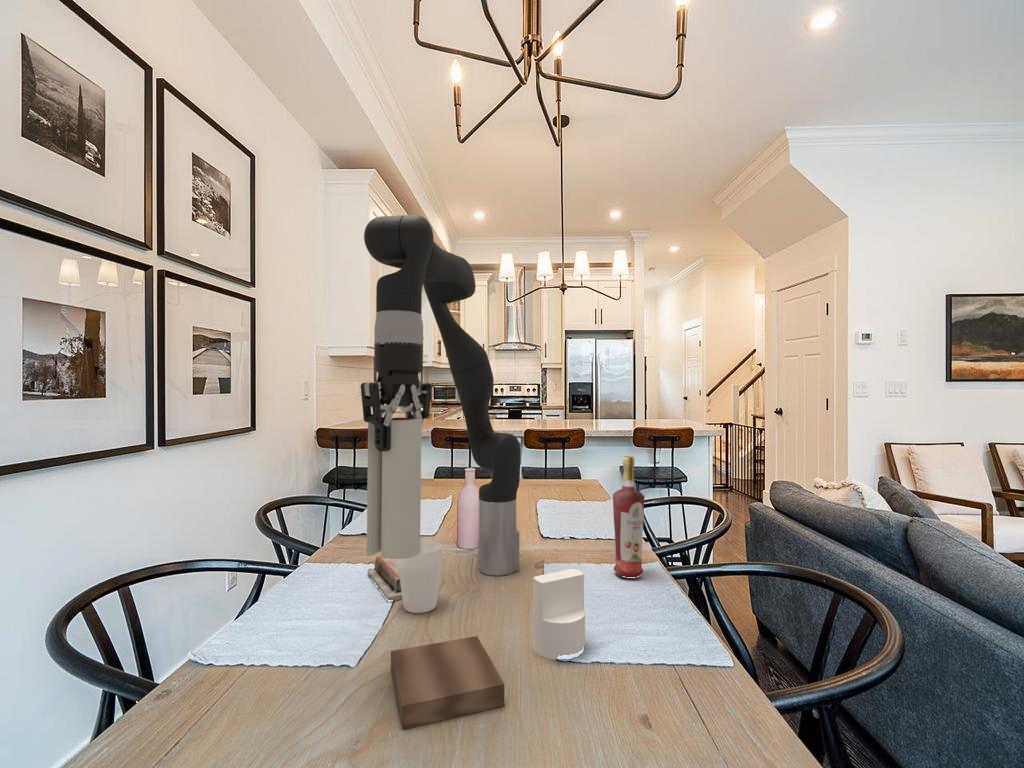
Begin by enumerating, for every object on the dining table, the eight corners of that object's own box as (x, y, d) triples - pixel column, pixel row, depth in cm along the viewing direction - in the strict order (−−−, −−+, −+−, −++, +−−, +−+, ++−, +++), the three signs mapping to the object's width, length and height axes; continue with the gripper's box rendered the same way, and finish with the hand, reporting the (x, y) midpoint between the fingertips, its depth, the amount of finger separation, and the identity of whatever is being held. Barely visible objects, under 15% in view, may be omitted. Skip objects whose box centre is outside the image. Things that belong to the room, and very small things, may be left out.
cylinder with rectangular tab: (550, 665, 78) (550, 590, 78) (523, 639, 86) (523, 571, 86) (595, 651, 82) (596, 580, 82) (565, 628, 90) (566, 563, 90)
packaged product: (366, 555, 116) (407, 548, 121) (366, 575, 116) (407, 568, 121) (387, 581, 100) (433, 572, 105) (387, 605, 100) (433, 595, 105)
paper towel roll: (426, 550, 79) (428, 417, 79) (408, 562, 73) (409, 419, 73) (387, 545, 81) (388, 416, 81) (366, 557, 75) (368, 418, 75)
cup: (450, 600, 102) (450, 542, 102) (429, 619, 93) (429, 556, 93) (412, 594, 105) (412, 538, 105) (388, 612, 96) (388, 551, 96)
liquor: (624, 583, 111) (624, 459, 111) (606, 572, 118) (606, 455, 118) (651, 578, 114) (651, 458, 114) (632, 567, 120) (632, 454, 121)
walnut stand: (477, 654, 81) (477, 635, 81) (504, 705, 68) (504, 684, 68) (390, 670, 76) (390, 651, 76) (402, 729, 63) (402, 706, 63)
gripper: (410, 346, 85) (410, 442, 85) (346, 339, 73) (345, 452, 73) (445, 345, 82) (444, 445, 82) (384, 337, 69) (383, 455, 69)
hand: (398, 448), depth 77 cm, fingers closed on paper towel roll, 6 cm apart
